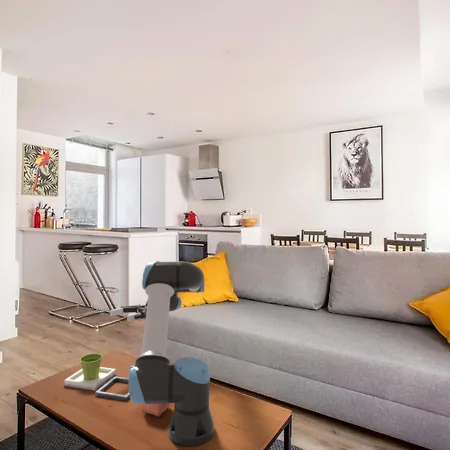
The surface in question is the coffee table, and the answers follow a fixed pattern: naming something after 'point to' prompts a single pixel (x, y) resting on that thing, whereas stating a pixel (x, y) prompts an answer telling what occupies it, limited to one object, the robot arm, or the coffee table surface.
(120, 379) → the grey square frame
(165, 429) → the coffee table surface
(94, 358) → the plant pot
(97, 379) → the tray
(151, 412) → the pink cube teapot
